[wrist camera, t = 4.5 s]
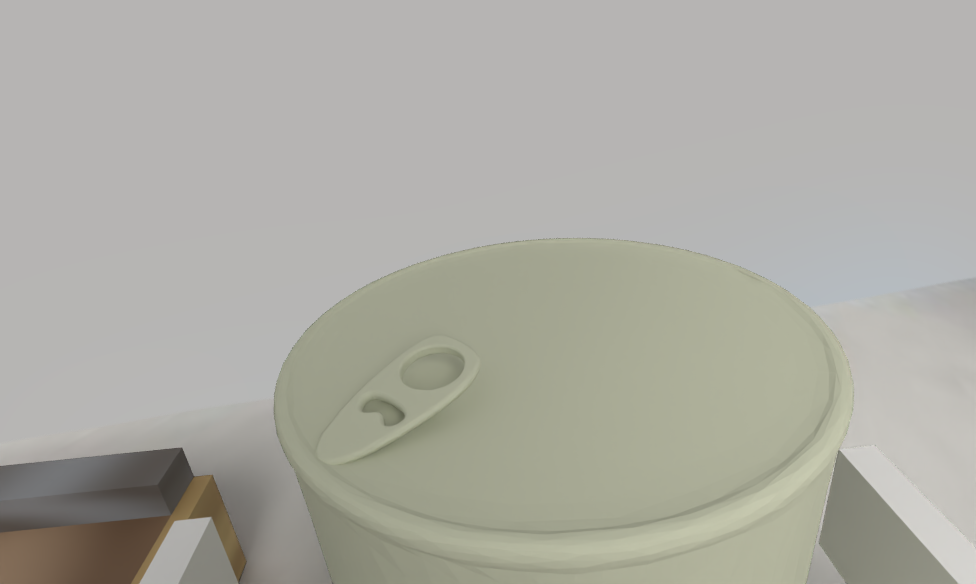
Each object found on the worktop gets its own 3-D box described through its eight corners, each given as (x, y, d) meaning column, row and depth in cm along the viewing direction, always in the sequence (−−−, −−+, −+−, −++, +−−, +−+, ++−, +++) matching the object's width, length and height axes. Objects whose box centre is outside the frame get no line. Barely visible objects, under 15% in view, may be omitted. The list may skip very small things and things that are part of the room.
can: (323, 718, 15) (177, 327, 10) (555, 520, 21) (536, 195, 16) (599, 1180, 9) (576, 749, 4) (834, 721, 14) (957, 280, 9)
